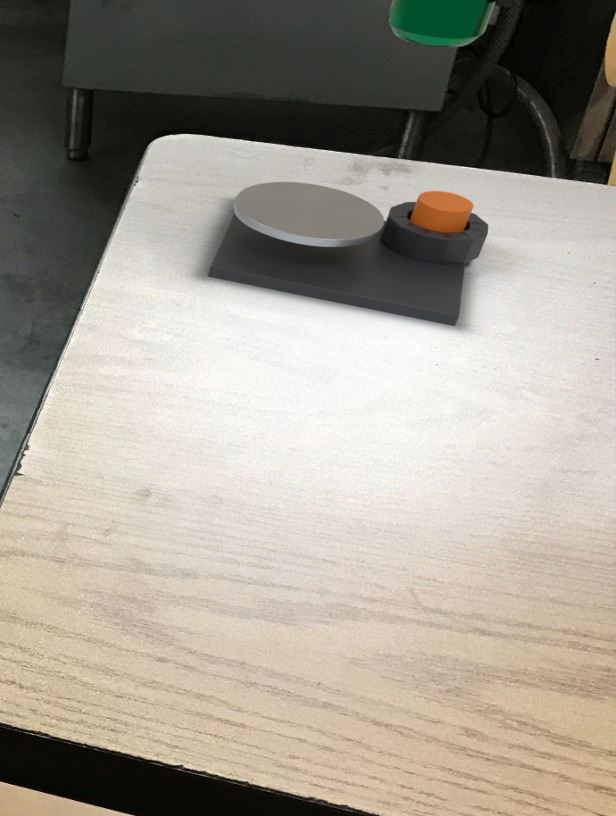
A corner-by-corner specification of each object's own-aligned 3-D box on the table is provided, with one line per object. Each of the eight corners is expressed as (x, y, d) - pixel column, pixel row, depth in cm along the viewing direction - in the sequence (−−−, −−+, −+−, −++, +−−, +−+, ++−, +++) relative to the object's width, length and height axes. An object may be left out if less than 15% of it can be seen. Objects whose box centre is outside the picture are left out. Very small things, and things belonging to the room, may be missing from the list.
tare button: (465, 220, 97) (474, 196, 96) (462, 239, 94) (472, 215, 93) (411, 211, 98) (420, 187, 97) (407, 229, 95) (416, 205, 94)
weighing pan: (387, 205, 98) (390, 197, 97) (374, 259, 91) (378, 250, 90) (244, 180, 101) (247, 172, 100) (222, 230, 94) (224, 221, 93)
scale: (470, 258, 99) (489, 212, 97) (461, 341, 90) (482, 292, 87) (236, 215, 104) (249, 169, 102) (204, 289, 95) (217, 240, 92)
